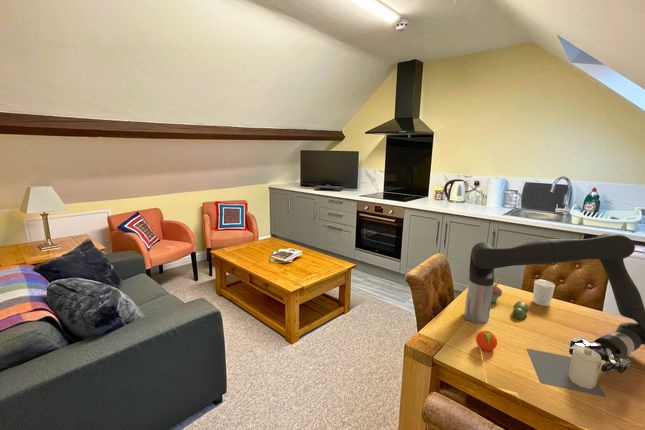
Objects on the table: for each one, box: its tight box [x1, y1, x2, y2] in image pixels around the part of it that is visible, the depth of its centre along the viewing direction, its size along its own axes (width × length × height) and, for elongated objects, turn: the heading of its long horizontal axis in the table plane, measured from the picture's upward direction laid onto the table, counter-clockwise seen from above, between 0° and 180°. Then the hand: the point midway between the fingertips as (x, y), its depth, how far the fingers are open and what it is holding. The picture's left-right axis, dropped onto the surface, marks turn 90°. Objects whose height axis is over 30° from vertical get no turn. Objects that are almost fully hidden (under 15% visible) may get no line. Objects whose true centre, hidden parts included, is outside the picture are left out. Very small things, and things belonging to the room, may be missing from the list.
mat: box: [525, 348, 607, 398], centre depth 106 cm, size 17×18×1 cm
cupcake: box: [491, 277, 503, 303], centre depth 152 cm, size 9×8×12 cm
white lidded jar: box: [568, 347, 603, 389], centre depth 100 cm, size 6×6×11 cm
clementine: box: [475, 330, 498, 352], centre depth 116 cm, size 8×7×7 cm
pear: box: [511, 300, 530, 320], centre depth 140 cm, size 6×5×10 cm
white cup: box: [532, 279, 556, 307], centre depth 149 cm, size 8×8×10 cm
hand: (586, 360), depth 100 cm, fingers open, 8 cm apart
